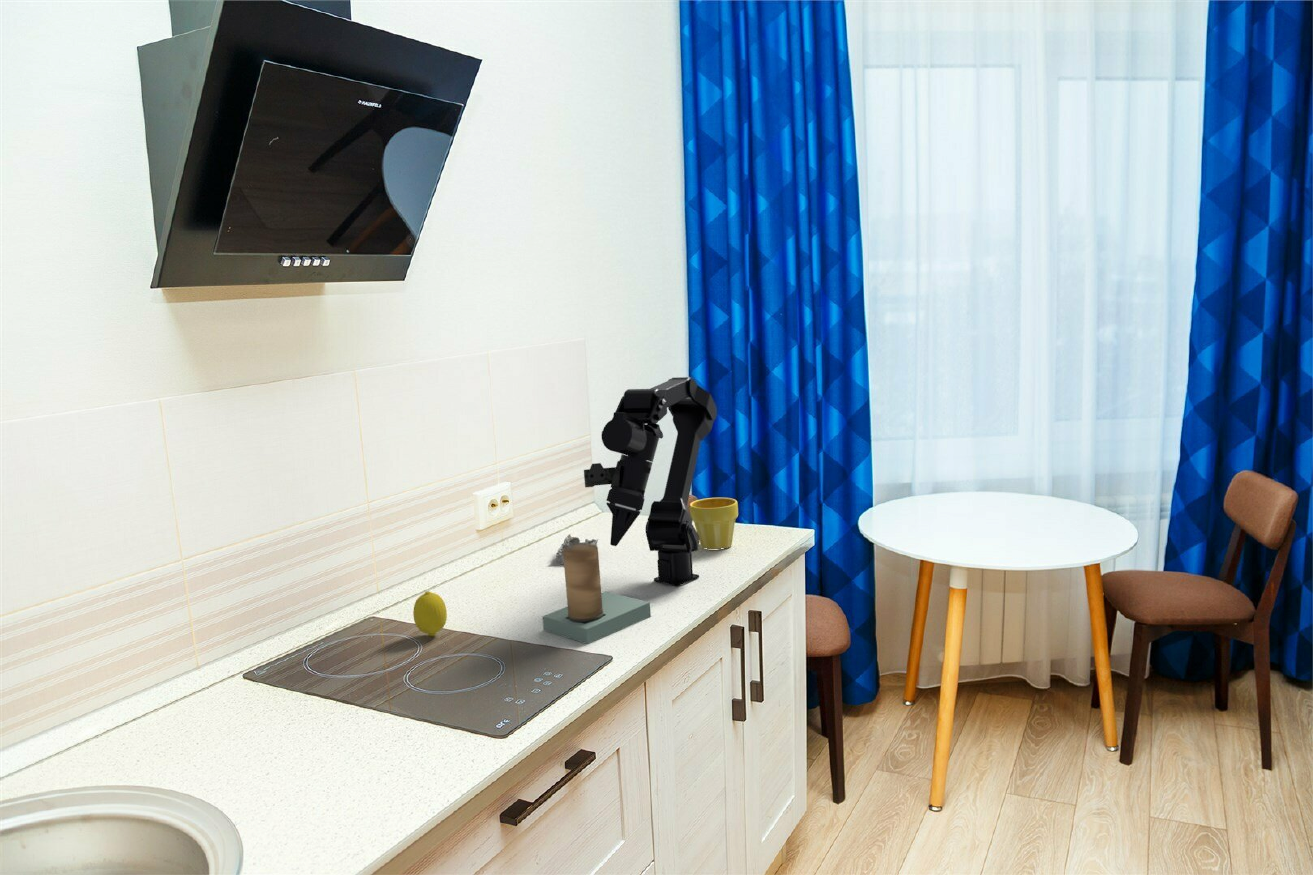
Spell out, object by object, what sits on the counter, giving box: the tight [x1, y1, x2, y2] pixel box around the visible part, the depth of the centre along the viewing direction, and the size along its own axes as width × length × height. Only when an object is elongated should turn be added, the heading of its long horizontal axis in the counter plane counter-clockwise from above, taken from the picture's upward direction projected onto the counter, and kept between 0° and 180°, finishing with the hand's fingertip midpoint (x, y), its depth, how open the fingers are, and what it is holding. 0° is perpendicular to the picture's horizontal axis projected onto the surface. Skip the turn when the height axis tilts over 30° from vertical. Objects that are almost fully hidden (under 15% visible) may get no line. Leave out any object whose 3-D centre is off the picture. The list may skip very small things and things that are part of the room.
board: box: [541, 591, 652, 645], centre depth 162 cm, size 15×11×2 cm
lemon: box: [412, 590, 448, 637], centre depth 161 cm, size 6×6×8 cm
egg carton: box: [555, 534, 599, 565], centre depth 203 cm, size 11×8×4 cm
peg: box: [563, 544, 603, 624], centre depth 158 cm, size 6×6×14 cm
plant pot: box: [689, 497, 739, 549], centre depth 203 cm, size 10×10×10 cm
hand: (614, 543), depth 167 cm, fingers open, 9 cm apart
